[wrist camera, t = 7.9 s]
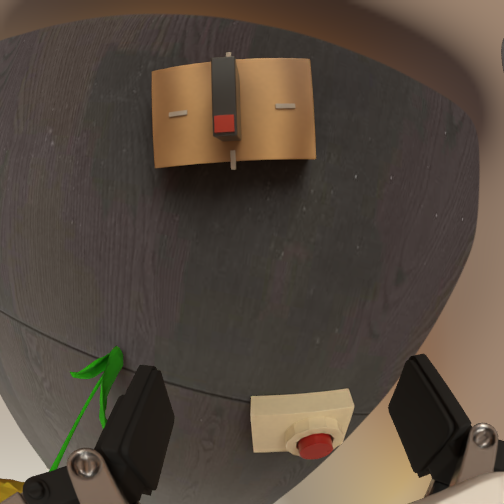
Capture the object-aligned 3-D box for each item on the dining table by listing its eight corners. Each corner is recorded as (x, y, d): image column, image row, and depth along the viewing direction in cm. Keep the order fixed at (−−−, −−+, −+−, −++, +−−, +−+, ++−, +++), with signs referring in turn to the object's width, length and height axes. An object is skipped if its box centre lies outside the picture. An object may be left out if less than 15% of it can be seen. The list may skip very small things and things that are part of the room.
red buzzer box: (348, 388, 30) (358, 417, 26) (337, 428, 33) (344, 454, 28) (250, 395, 31) (250, 427, 26) (253, 435, 34) (253, 463, 29)
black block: (220, 77, 18) (210, 56, 13) (239, 76, 18) (234, 54, 13) (222, 141, 19) (211, 136, 15) (241, 140, 19) (237, 134, 15)
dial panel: (303, 63, 20) (309, 51, 17) (309, 166, 22) (316, 167, 20) (163, 74, 20) (151, 63, 17) (167, 173, 23) (154, 176, 20)
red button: (333, 430, 27) (335, 441, 25) (328, 446, 28) (330, 457, 27) (299, 434, 27) (300, 445, 25) (297, 450, 28) (298, 460, 27)
